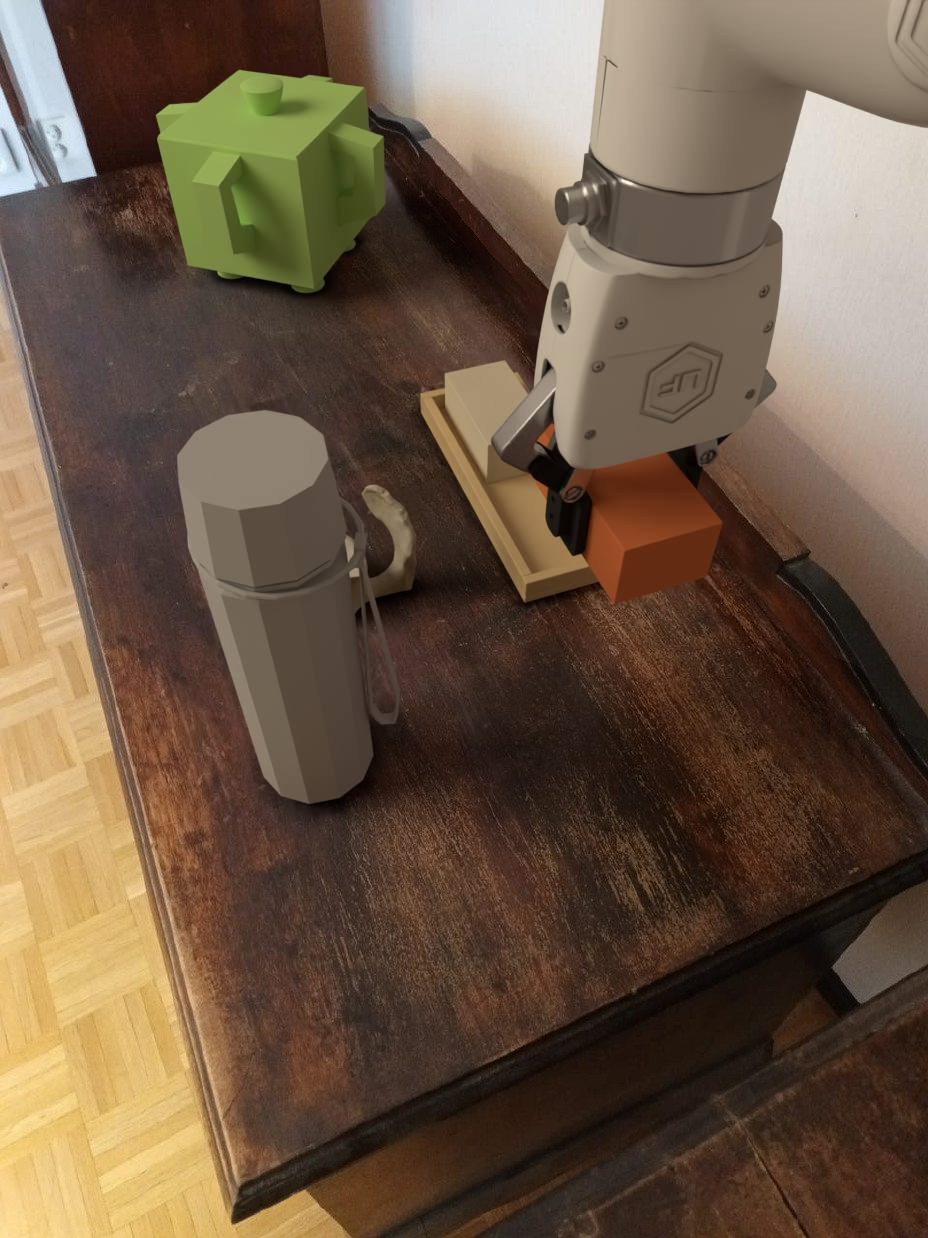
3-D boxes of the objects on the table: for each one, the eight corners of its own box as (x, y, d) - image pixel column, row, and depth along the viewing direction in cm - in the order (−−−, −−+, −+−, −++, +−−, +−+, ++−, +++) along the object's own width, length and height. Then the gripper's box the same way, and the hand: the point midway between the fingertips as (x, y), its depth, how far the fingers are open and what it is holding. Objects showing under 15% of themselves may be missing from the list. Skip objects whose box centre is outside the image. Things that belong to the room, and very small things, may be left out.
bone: (268, 603, 65) (295, 467, 61) (308, 580, 71) (335, 455, 67) (379, 645, 63) (413, 508, 60) (410, 618, 69) (443, 492, 66)
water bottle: (250, 813, 56) (142, 517, 37) (271, 706, 61) (186, 397, 42) (400, 818, 56) (371, 523, 37) (409, 710, 61) (387, 402, 42)
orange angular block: (706, 577, 49) (723, 522, 46) (613, 605, 47) (624, 551, 44) (619, 460, 55) (629, 404, 51) (534, 482, 53) (539, 427, 50)
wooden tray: (636, 571, 69) (640, 552, 68) (524, 603, 67) (526, 583, 66) (516, 391, 83) (517, 371, 82) (420, 412, 81) (420, 393, 80)
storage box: (340, 340, 88) (319, 156, 75) (132, 299, 93) (78, 119, 79) (426, 218, 103) (422, 47, 90) (244, 188, 108) (214, 21, 95)
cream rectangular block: (548, 468, 76) (552, 429, 73) (486, 484, 74) (487, 445, 71) (503, 398, 82) (505, 359, 79) (445, 411, 80) (444, 372, 77)
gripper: (517, 285, 32) (499, 614, 46) (915, 203, 37) (789, 529, 50) (443, 191, 37) (447, 517, 51) (805, 127, 41) (717, 445, 55)
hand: (618, 520), depth 51 cm, fingers closed on orange angular block, 5 cm apart
